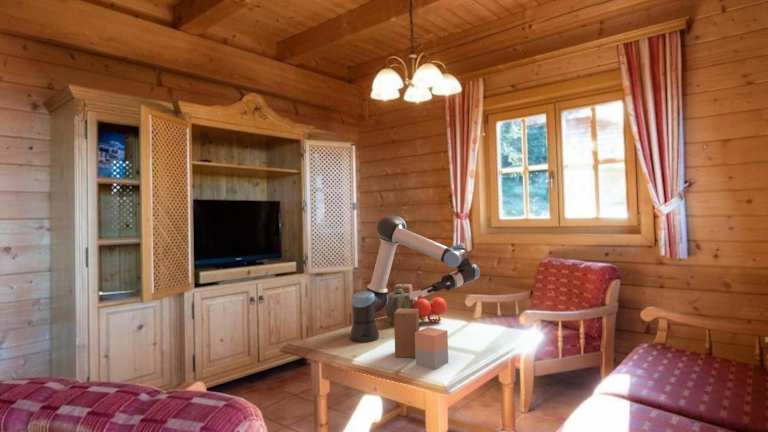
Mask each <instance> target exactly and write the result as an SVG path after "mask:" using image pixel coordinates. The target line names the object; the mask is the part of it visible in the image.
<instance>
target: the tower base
mask: <svg viewBox="0 0 768 432" xmlns="http://www.w3.org/2000/svg"><path fill="white" fill-rule="evenodd" d="M414 359H415V366H420V367H422V368H423V367H425V368H428V369H432V370H437V369H440V368H441V367H443V366H444V365H447V364H449V346H448V347H446V348H444V349H442V350H440V351H438V352H436V353H433V352H429V351H424V350H419V349H415V358H414Z"/></svg>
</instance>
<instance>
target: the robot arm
mask: <svg viewBox="0 0 768 432" xmlns="http://www.w3.org/2000/svg"><path fill="white" fill-rule="evenodd" d="M375 232H376V234H377V235H378V237H379V240H380V244H379V245H380V246H379V250H378V254H377V257H376V261H375V266H374V270H373V273H372V277H371V282H370V283H369V284H367V286H366V290H363V291H362V290H361V291H357V292H356V293H354V294H353V295H352V299H351V305H352V307H351V308H352V309H351V310H352V311H351V312H352V325H351V329H350V332H349V339H350V341H352V342H357V343H367V342H373V341H374V342H375V341H377V340H379V338H380V333H379V331H378V327H377V324H376V314H377V313H378V312H381V311H383V310H384V309H386V308H385V307H386V305H387V303H388V296H387V295H388V294H389V289H388V288H387V285H388V281H389V276H390V272H391V269H392V265H393V261H394V257H395V254H396V250H397V246H398V245H400V244H401V245H403V246H406V247H408V248H410V249H411V250H414V251H417V252H419V253H421V254H423V255H424V254H425V255H426V256H429V257H431V258H433V259H436V260H438V261H439V262H442V263H444V264H445V265H446V266H447V267H449V268H456V269H457V270H454V271H451V272H449V273H447V274H444V275H442V277H441V280H440V281H436V282H435V283H432V284H430V285H429V286H425V287H423V288H420V289H418V290H416V291H412V293H410V294H409V297H410V299H415V298H417V297H420V296H421V298H424V297H427V296H428V295H431V294H434V293H436V292H439V291H441V290H446V291H451V290H454V289H455V288H458V287H459V288H461V286H463V285H466V284H468V283H470V282H473V281H475V280H477V279H479V278H480V276H481V270H480V268H479V267H478V265H477V264H475V263H473V264H472V262H471V259H470V257H469V254H468V251H467V248H466V247H465V245H464V243H462V242H461V243H459V244H455V245H454V246H451V247H448V246H445V245H443V244H441V243H438V242H437V241H434V240H432V239H429V238H427V237H424V236H422V235H421V234H417V233H415V232H413V231H410V230H407V224H406V221H405V219H403V217H400V216H398V215H390V216H389V215H388V216H382V217H381V218H379V219H378V221H377V222H376V224H375Z"/></svg>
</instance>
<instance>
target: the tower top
mask: <svg viewBox="0 0 768 432" xmlns="http://www.w3.org/2000/svg"><path fill="white" fill-rule="evenodd" d="M448 335H449V334H448V330H447V329H441V328H434V327H429V326H427V327H425V328H422V329H419V331H417V332H415V349H419V350H424V351H429V352H433V353H436V352H438V351H440V350H442V349H444V348H446V347H448V348H449V345H448V344H449V341H448V340H449V339H448Z"/></svg>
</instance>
